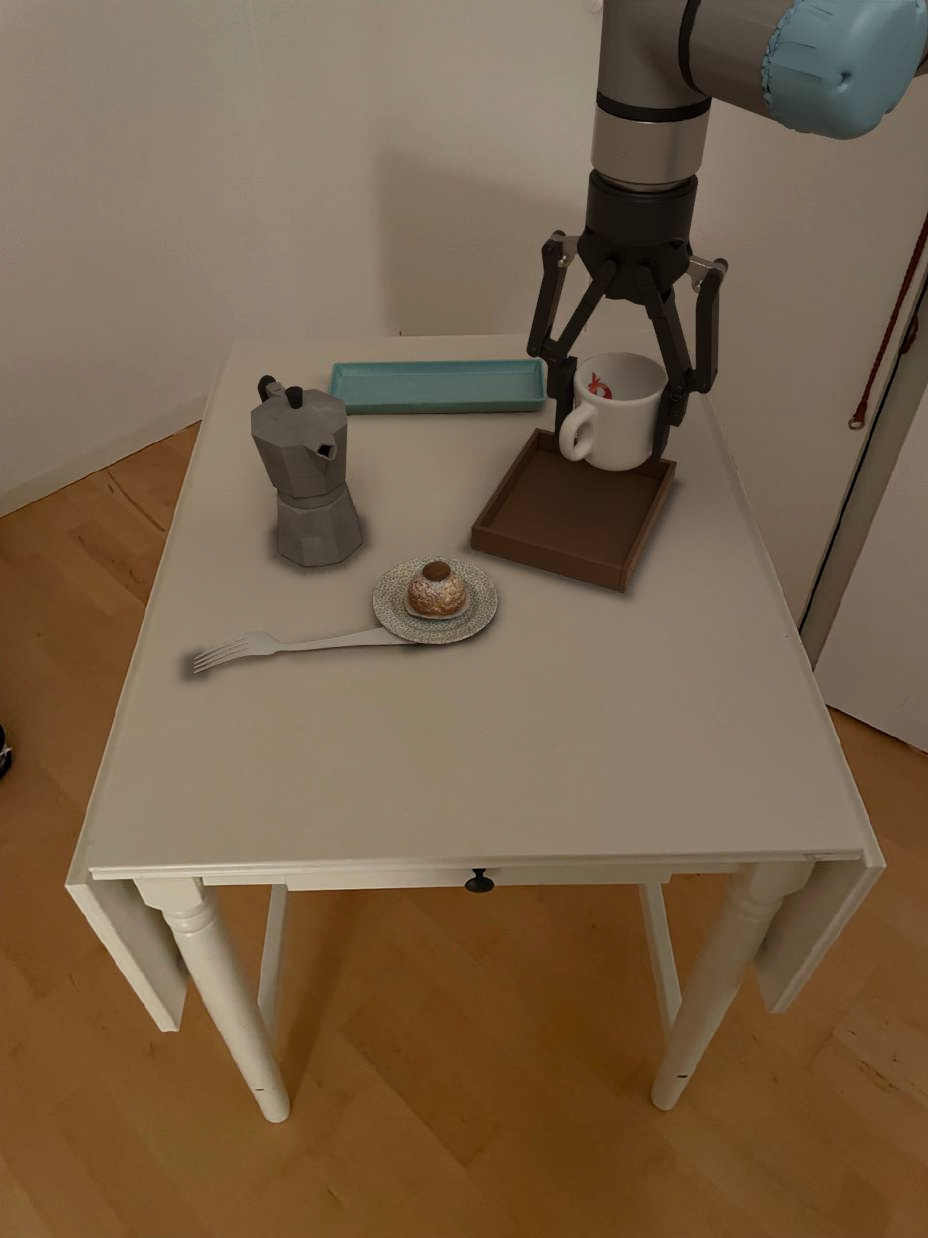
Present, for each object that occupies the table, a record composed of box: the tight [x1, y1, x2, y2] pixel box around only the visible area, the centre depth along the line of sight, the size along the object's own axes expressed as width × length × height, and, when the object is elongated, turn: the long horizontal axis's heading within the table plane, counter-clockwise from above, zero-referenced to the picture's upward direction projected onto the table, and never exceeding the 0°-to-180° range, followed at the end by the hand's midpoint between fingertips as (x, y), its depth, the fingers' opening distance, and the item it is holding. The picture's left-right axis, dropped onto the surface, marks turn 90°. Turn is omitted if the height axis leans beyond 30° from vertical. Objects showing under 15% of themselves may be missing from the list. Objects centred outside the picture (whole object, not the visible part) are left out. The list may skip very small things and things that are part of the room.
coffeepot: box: [250, 374, 363, 568], centre depth 89 cm, size 15×9×18 cm, turn 32°
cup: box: [559, 351, 669, 471], centre depth 79 cm, size 11×8×8 cm
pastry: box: [371, 555, 499, 645], centre depth 86 cm, size 12×12×5 cm
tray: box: [471, 427, 678, 594], centre depth 96 cm, size 16×18×3 cm
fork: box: [193, 626, 418, 674], centre depth 85 cm, size 3×21×3 cm, turn 100°
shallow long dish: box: [327, 358, 547, 415], centre depth 111 cm, size 26×9×2 cm, turn 89°
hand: (610, 440), depth 80 cm, fingers closed on cup, 8 cm apart
